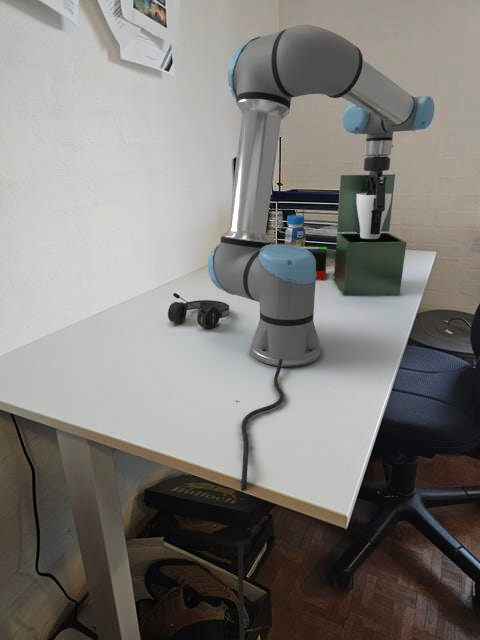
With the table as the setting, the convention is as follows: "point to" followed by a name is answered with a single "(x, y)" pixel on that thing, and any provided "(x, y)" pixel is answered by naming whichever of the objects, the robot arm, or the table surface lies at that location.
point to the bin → (369, 264)
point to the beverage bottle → (295, 231)
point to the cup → (369, 214)
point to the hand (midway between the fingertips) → (370, 231)
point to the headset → (205, 316)
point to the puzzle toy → (319, 260)
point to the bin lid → (348, 202)
